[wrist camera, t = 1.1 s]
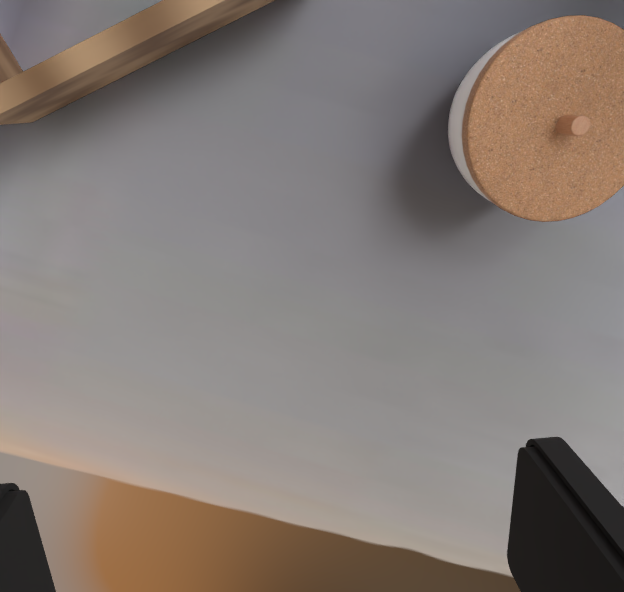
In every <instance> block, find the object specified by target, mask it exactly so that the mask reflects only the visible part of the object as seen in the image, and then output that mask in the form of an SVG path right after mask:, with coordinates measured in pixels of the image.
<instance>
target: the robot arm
mask: <svg viewBox="0 0 624 592" xmlns="http://www.w3.org/2000/svg"><path fill="white" fill-rule="evenodd" d="M507 558H508V564H509V567H510V571H511V573H512V575H513V577H514V579H515V581H516V583H517V585H518V587H519V589H520V591H521V592H624V507H623V506H621V505H620V504H619V502H618V501H617V500H616V499H615V498H614V497H613V496H612V494H611V493H610V492H609V491H608V490H607V489H606V488H605V486H604V485H603V484H602V483H601V482H600V481H599V480H598V478H597V477H596V476H595V475H594V474H593V473H592V472H591V470H590V469H589V468H588V467H587V466H586V465H585V464H584V462H583V461H582V460H581V459H580V458H579V457H578V456H577V454H576V453H575V452H574V451H573V450H572V449H571V448H570V446H569V445H568V444H567V443H566V442H565V441H564V440H563V439H562V438H560V437H549V438H538V439H530V440H528V442H527V443H526V447H523V448H520V449H519V451H518V458H517V467H516V476H515V485H514V495H513V504H512V513H511V523H510V532H509V541H508V550H507ZM0 592H56V591H55V587H54V583H53V580H52V576H51V573H50V569H49V566H48V562H47V559H46V555H45V551H44V548H43V545H42V541H41V538H40V534H39V530H38V527H37V523H36V520H35V516H34V512H33V509H32V505H31V502H30V498H29V495H28V493H27V492H26V491H24V490H19V488H18V486H17V485H16V484H14V483H6V484H0Z"/></svg>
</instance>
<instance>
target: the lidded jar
mask: <svg viewBox="0 0 624 592" xmlns="http://www.w3.org/2000/svg"><path fill="white" fill-rule="evenodd" d="M448 137H449V146H450V149H451V153H452V157H453V159H454V161H455V164H456V166H457V168H458V170H459V171H460V173H461V174H462V176H463V177H464V179H465V180H466V181H467V182H468V183H469V185H470V186H471V187H472V188H473V189H474V190H475V191H476V192H478V193H479V194H480V195H482V196H483V197H484V198H486V199H487V200H488V201H490V202H492V203H494V204H495V205H497V206H498V207H499V208H501V209H503V210H505V211H507V212H509V213H511V214H513V215H515V216H517V217H521V218H524V219H528V220H533V221H542V222H548V221H560V220H565V219H570V218H573V217H576V216H579V215H581V214H584V213H586V212H588V211H590V210H592V209H594V208H596V207H598V206H599V205H601V204H602V203H604V202H605V201H606V200H608V199H609V198H611V197H612V196H613V195H614V194H615V193H616V192H617V191H618V190H619V189H620V188H621V187H623V186H624V30H623V29H622V28H620V27H618V26H617V25H615V24H614V23H611V22H609V21H606V20H603V19H601V18H597V17H591V16H585V15H577V16H564V17H559V18H554V19H550V20H547V21H544V22H541V23H539V24H536V25H534V26H531V27H529V28H527V29H526V30H524V31H522V32H519V33H517V34H514V35H512V36H511V37H509V38H507V39H505V40H504V41H502V42H500V43H499V44H497V45H496V46H494V47H493V48H492V49H490V50H489V51H488V52H487V53H485V54H484V55H483V56H482V57H481V58H480V59H479V60H478V61H477V62H476V63H475V65H474V66H473V67H472V68H471V69H470V70H469V72H468V73H467V74H466V76H465V77H464V79H463V80H462V82H461V84H460V86H459V88H458V90H457V91H456V94H455V96H454V99H453V102H452V105H451V109H450V114H449V121H448Z"/></svg>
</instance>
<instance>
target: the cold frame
mask: <svg viewBox="0 0 624 592" xmlns="http://www.w3.org/2000/svg"><path fill="white" fill-rule="evenodd" d="M273 1H275V0H163V1H161V2H159V3H157V4H155V5H153V6H151V7H149V8H147V9H145V10H143V11H141V12H139V13H137V14H135V15H133V16H131V17H129V18H127V19H126V20H124V21H122V22H120V23H118V24H116V25H114V26H112V27H110V28H108V29H106V30H104V31H102V32H100V33H98V34H96V35H94V36H92V37H90V38H88V39H86V40H84V41H82V42H80V43H79V44H77V45H75V46H73V47H71V48H69V49H67V50H65V51H63V52H61V53H59V54H57V55H55V56H53V57H51V58H49V59H47V60H45V61H43V62H41V63H39V64H37V65H35V66H34V67H32V68H30V69H28V70H26V71H24V72H23V71H22V69H21V67H20V66H19V64H18V62H17V61H16V59H15V57H14V56H13V54H12V52H11V51H10V49H9V47H8V46H7V44H6V42H5V41H4V39H3V37H2V36H1V34H0V125H3V124H17V123H31V122H34V121H36V120H38V119H40V118H42V117H44V116H46V115H48V114H50V113H52V112H54V111H56V110H58V109H60V108H62V107H64V106H66V105H68V104H70V103H72V102H74V101H76V100H78V99H80V98H82V97H84V96H86V95H88V94H90V93H92V92H94V91H96V90H98V89H100V88H102V87H104V86H106V85H108V84H110V83H112V82H114V81H116V80H118V79H120V78H122V77H124V76H126V75H128V74H130V73H132V72H134V71H136V70H138V69H140V68H142V67H144V66H146V65H148V64H150V63H152V62H154V61H156V60H158V59H160V58H162V57H164V56H166V55H168V54H170V53H171V52H173V51H175V50H177V49H179V48H181V47H183V46H185V45H187V44H189V43H191V42H193V41H195V40H197V39H199V38H201V37H203V36H205V35H207V34H209V33H211V32H213V31H215V30H217V29H219V28H221V27H223V26H225V25H227V24H229V23H231V22H233V21H235V20H237V19H239V18H241V17H243V16H245V15H247V14H249V13H251V12H253V11H255V10H257V9H259V8H261V7H263V6H265V5H267V4H269V3H271V2H273Z"/></svg>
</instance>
